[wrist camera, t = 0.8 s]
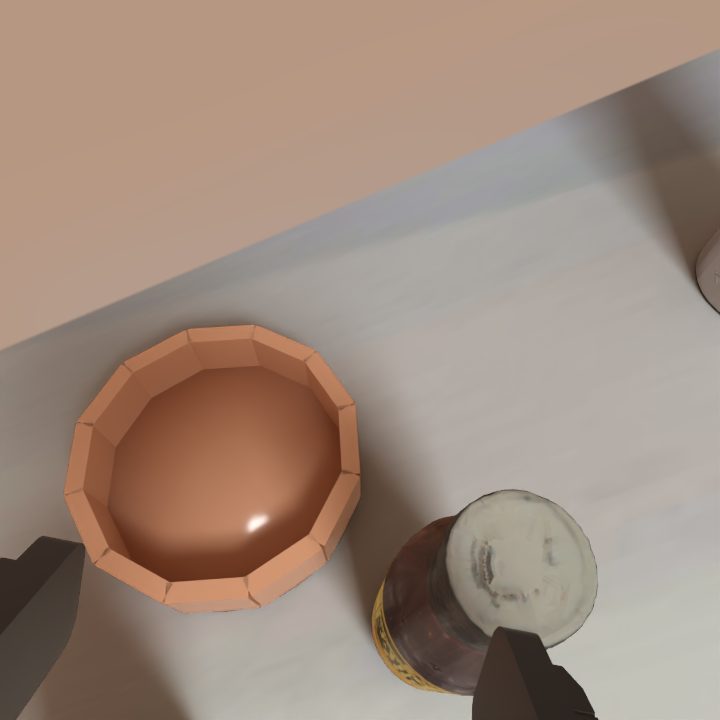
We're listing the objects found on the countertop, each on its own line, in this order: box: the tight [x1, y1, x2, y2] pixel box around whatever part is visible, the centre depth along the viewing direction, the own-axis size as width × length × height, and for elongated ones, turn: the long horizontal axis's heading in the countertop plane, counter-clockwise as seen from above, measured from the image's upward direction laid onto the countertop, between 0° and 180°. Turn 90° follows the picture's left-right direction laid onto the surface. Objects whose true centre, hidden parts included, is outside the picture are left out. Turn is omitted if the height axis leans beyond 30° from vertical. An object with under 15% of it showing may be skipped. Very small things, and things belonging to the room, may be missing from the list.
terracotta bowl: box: [63, 325, 361, 614], centre depth 35 cm, size 16×16×4 cm
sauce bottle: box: [372, 490, 598, 696], centre depth 24 cm, size 6×6×20 cm
